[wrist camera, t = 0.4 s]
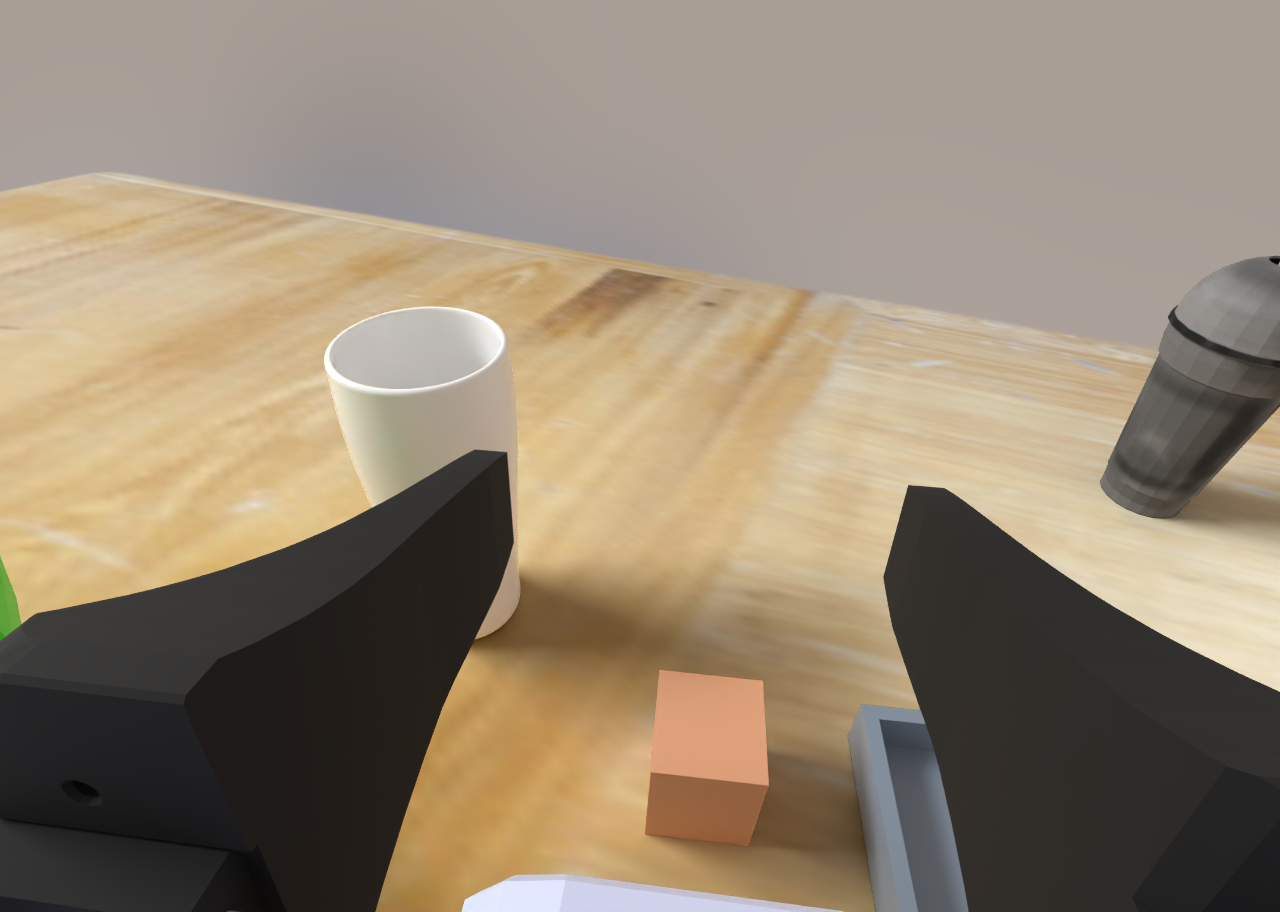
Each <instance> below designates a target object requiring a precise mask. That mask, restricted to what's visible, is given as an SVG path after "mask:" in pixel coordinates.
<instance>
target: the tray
mask: <svg viewBox="0 0 1280 912" xmlns="http://www.w3.org/2000/svg"><path fill="white" fill-rule="evenodd" d="M848 740H849V746H850V752H851V759H852V765H853V771H854V778H855V784H856V790H857V796H858V803H859V809H860V815H861V822H862V828H863V834H864V840H865V847H866V853H867V859H868V866H869V872H870V878H871V885H872V891H873V897H874V903H875V910H876V912H969V911H968V905H967V899H966V894H965V888H964V883H963V878H962V873H961V868H960V863H959V858H958V853H957V848H956V843H955V838H954V833H953V828H952V823H951V819H950V814H949V810H948V806H947V801H946V797H945V792H944V788H943V783H942V779H941V775H940V770H939V766H938V762H937V759H936V756H935V752H934V749H933V745H932V742H931V739H930V736H929V733H928V730H927V727H926V724H925V721H924V718H923V715H922V713H921V710H912V709H903V708H894V707H884V706H875V705H865V704H862V705H861V707H860V709H859V711H858V714H857V716H856V718H855V720H854V722H853V725H852V727H851V729H850V731H849V734H848Z"/></svg>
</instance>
